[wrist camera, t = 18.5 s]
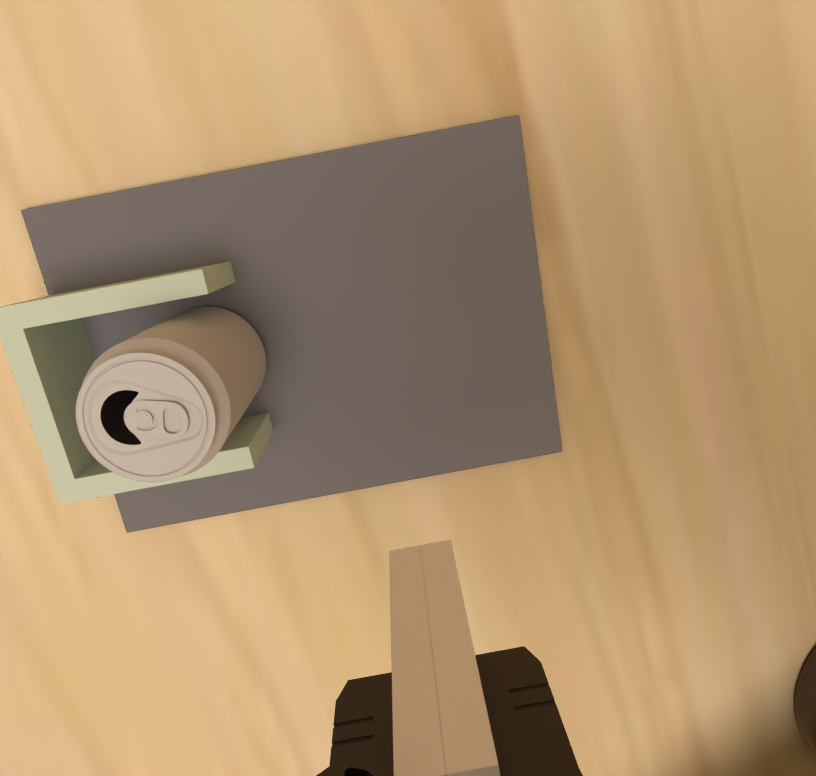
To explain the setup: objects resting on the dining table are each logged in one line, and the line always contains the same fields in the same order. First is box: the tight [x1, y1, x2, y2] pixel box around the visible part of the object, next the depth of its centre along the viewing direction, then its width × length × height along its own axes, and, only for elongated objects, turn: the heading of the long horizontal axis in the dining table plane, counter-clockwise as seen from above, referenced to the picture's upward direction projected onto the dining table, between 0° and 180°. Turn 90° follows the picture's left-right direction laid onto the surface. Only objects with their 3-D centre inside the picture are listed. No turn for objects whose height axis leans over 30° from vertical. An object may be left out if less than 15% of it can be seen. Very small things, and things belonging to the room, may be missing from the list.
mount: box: [0, 115, 562, 532], centre depth 35 cm, size 20×28×7 cm
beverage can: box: [76, 306, 266, 483], centre depth 32 cm, size 6×6×12 cm
